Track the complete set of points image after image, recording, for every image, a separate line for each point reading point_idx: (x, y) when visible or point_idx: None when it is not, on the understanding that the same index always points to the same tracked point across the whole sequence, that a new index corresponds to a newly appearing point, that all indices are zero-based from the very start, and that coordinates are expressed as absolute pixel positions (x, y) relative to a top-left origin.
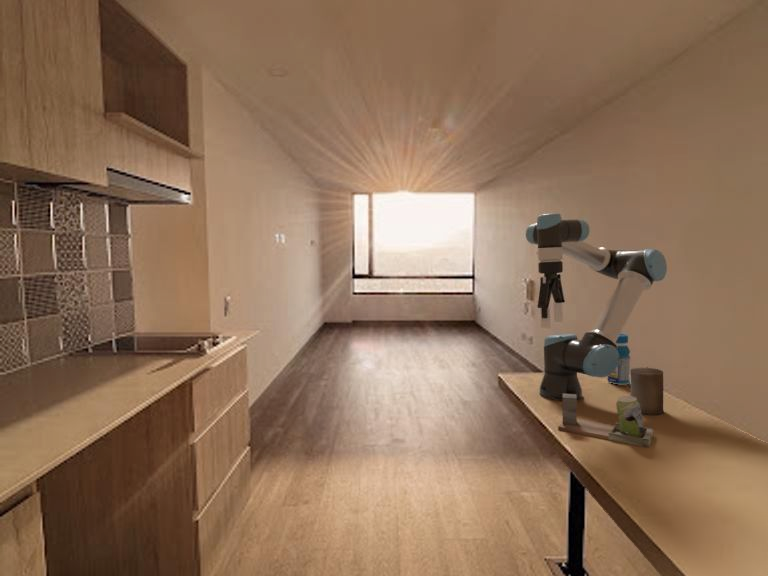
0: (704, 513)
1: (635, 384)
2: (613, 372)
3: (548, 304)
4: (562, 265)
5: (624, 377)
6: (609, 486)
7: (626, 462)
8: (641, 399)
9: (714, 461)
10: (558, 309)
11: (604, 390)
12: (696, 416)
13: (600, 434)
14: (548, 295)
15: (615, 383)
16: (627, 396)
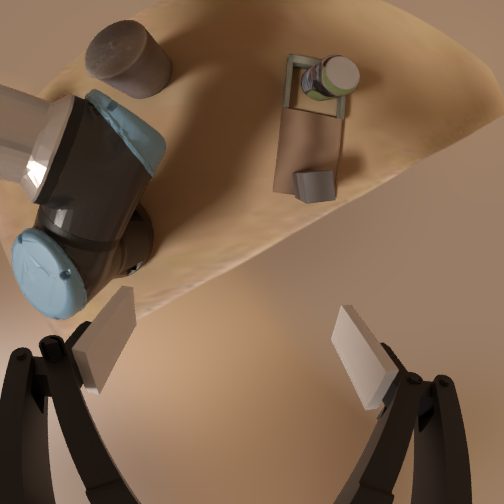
0: (459, 69)
1: (145, 71)
2: None
3: (409, 388)
4: None
5: None
6: (458, 135)
7: (404, 106)
8: (162, 69)
9: (346, 13)
10: (108, 343)
11: None
12: (152, 16)
13: (340, 131)
14: (404, 447)
15: None
16: (326, 69)
